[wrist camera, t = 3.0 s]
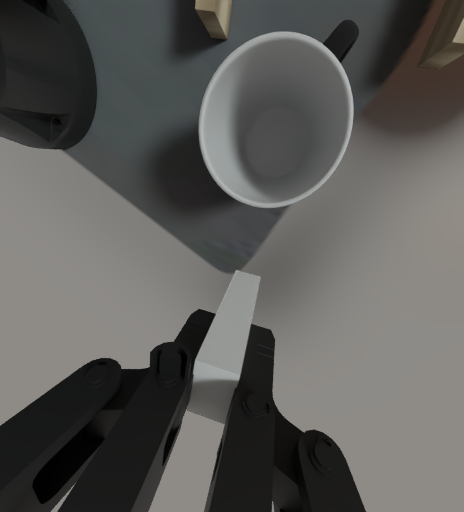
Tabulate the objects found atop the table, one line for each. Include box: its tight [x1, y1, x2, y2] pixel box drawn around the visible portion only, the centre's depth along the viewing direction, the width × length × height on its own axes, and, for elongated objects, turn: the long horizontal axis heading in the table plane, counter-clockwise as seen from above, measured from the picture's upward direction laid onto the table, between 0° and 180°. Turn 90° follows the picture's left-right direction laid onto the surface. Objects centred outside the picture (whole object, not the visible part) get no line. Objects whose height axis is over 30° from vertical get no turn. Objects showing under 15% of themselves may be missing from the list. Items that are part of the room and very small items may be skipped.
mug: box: [198, 20, 359, 208], centre depth 16 cm, size 12×9×10 cm
